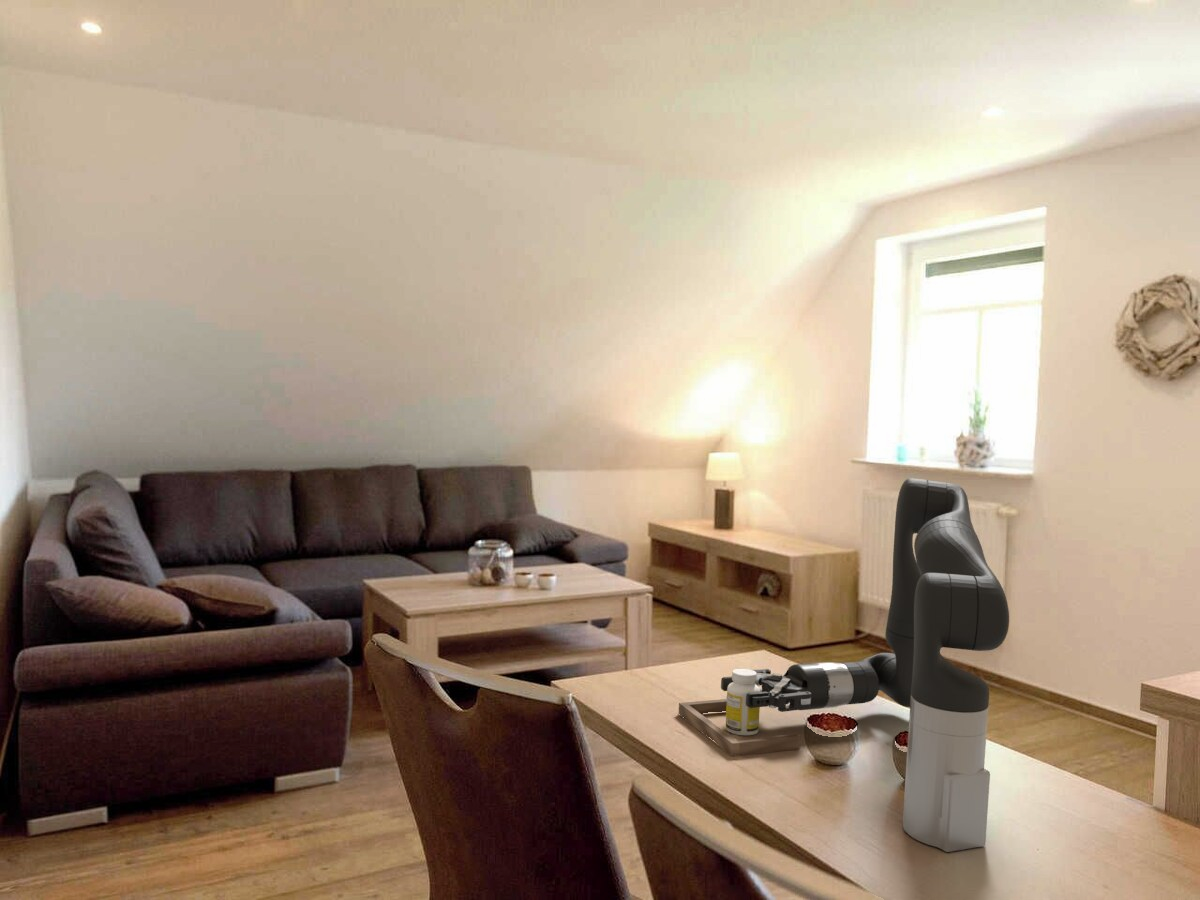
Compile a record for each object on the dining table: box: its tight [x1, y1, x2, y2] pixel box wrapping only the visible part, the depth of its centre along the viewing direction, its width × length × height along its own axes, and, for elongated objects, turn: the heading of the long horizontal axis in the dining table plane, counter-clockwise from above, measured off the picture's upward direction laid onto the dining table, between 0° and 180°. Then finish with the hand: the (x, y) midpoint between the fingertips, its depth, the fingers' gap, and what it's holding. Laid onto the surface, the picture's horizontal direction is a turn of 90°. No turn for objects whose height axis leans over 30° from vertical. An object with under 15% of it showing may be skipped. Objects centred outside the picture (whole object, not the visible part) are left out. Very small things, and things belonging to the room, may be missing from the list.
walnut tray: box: [678, 698, 801, 757], centre depth 151 cm, size 19×12×2 cm, turn 20°
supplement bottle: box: [725, 668, 761, 737], centre depth 151 cm, size 5×5×10 cm
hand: (734, 692), depth 151 cm, fingers open, 8 cm apart
